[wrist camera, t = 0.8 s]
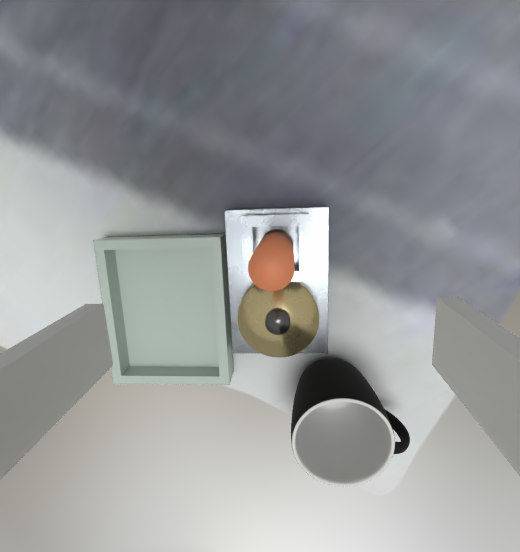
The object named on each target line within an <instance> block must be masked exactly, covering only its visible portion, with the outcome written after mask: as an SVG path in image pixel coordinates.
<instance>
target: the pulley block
mask: <svg viewBox="0 0 520 552" xmlns="http://www.w3.org/2000/svg"><path fill="white" fill-rule="evenodd" d="M225 226H226V243H227V260H228V277H229V295H230V312H231V329H232V346H233V353H261V354H264V355H267V356H271V357H287V356H291V355H295V354H297V353H328V228H329V207H327V206H318V207H288V208H258V209H229V210H226V211H225ZM273 229H281V230H284V231H286V232H287V233H288V234H289V235H290V236H291V238H292V240H293V249H294V266H295V271H294V276H293V278H292V280H291V282H290V283H289V284H288V285H287V286H286V287H284V288H283V289H281V290H278V291H266V290H263V289H260V288H259V287H257V286H256V285H255V284H254V283H253V282H252V280H251V278H250V276H249V273H248V264H249V260H250V258H251V256H252V255H253V253H254V251H255V250H256V248H257V246H258V244H259V243H260V241H261V239H262V238H263V236H264V235H265V234H266V233H267V232H268V231H270V230H273Z"/></svg>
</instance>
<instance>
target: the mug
mask: <svg viewBox="0 0 520 552" xmlns="http://www.w3.org/2000/svg"><path fill="white" fill-rule="evenodd" d="M393 429H394V431H395V432H396V433H397V434H398V436H399V437H400V439H401V442H395V437H394V432H393ZM291 441H292V442H291V443H292V449H293V453H294V456H295V458H296V460H297V462H298V464H299V465H300V466H301V468H302V469H303V470H304V471H305V472H306V473H307V474H309V475H310V476H311V477H313V478H314V479H316V480H318V481H320V482H323V483H326V484H329V485H334V486H355V485H359V484H363V483H365V482H368V481H370V480H372V479H373V478H375V477H376V476H378V475H379V474H380V473H381V472H383V471H384V469H385V468H386V467H387V466H388V464H389V463H390V461H391V459H392V457H393V454H399V453H402V452H404V451H405V450H406V449H407V448H408V446H409V442H410V437H409V433H408V431H407V429H406V428H405V426H404V425H403V424H402V423H401V422H400V421H399V420H398V419H397V418H396V417H395V416H394V415H392V414H391V413H390V412H388V411H386V410H385V409H384V408H383V406H382V404H381V403H380V401H379V399H378V397H377V396H376V394H375V392H374V391H373V389H372V388H371V386H370V385H369V383H368V382H367V381H366V379H365V378H364V377H363V376H362V374H361V373H360V372H359V371H358V370H357V369H356V368H355V367H353V366H352V365H350V364H349V363H347V362H345V361H342V360H338V359H323V360H320V361H317V362H315V363H314V364H312V365H311V366H310V367H308V368H307V369H306V371H305V372H304V373H303V375H302V377H301V379H300V381H299V384H298V386H297V390H296V394H295V399H294V405H293V413H292V424H291Z"/></svg>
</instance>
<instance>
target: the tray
mask: <svg viewBox="0 0 520 552" xmlns="http://www.w3.org/2000/svg"><path fill="white" fill-rule="evenodd" d="M93 243H94V250H95V257H96V264H97V271H98V278H99V285H100V292H101V299H102V304H104V310H105V316H106V322H107V329H108V335H109V341H110V347H111V354H112V360H113V366H112V367H111V369H112V376H113V383H114V384H174V385H230V381H231V378H232V375H233V372H234V370H233V353H232V336H231V318H230V301H229V284H228V267H227V250H226V234H193V235H157V236H120V237H105V238H101V239H97V240H93Z"/></svg>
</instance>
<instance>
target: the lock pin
mask: <svg viewBox="0 0 520 552" xmlns="http://www.w3.org/2000/svg"><path fill="white" fill-rule="evenodd" d="M294 271H295V266H294V249H293V240H292V238H291V236H290V235H289V234H288V233H287V232H286V231H284V230H281V229H273V230H270V231H268V232H267V233H266V234H265V235H264V236H263V238H262V239H261V241H260V243H259V244H258V246H257V248H256V250H255V251H254V253H253V255H252V256H251V258H250V260H249V264H248V273H249V276H250V278H251V280H252V282H253V283H254V284H255V285H256V286H257V287H259V288H260V289H263V290H266V291H278V290H281V289H283V288H284V287H286V286H287V285H288V284H289V283H290V282H291V280H292V278H293V276H294Z"/></svg>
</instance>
